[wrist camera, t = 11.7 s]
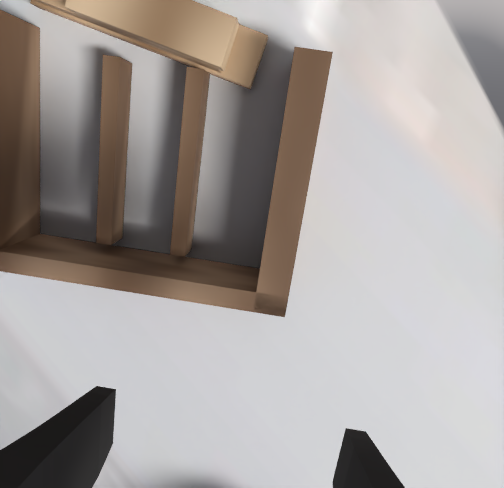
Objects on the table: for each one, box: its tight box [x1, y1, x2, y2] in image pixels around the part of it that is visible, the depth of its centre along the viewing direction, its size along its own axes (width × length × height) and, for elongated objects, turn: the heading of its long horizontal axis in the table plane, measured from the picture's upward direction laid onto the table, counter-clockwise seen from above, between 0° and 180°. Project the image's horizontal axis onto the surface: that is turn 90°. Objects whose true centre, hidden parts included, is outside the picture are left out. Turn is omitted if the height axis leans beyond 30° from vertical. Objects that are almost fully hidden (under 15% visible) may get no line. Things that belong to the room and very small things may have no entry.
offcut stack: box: [30, 0, 268, 90], centre depth 18 cm, size 11×2×3 cm, turn 70°
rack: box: [0, 10, 333, 317], centre depth 19 cm, size 16×12×4 cm
